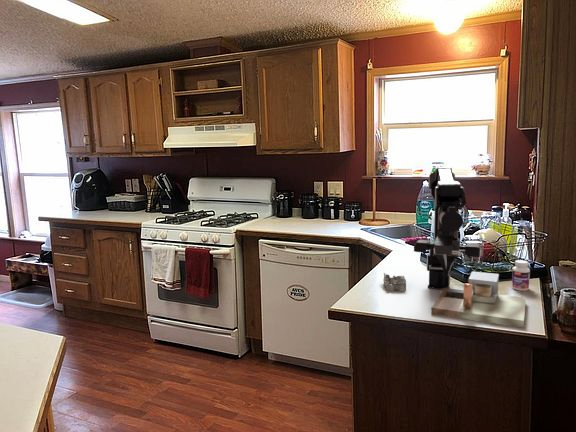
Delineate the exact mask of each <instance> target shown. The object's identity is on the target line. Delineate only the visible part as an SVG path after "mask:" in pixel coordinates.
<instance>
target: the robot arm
mask: <svg viewBox="0 0 576 432" xmlns="http://www.w3.org/2000/svg"><path fill="white" fill-rule="evenodd" d="M428 190H429V191H430V192H429V193H430V195H431V197H432V199H433V200H434V218H433V219H434V221H433V223H434V225H433V228H434V229H433V243H432V241H431V240H428V239H418V240H417V241H416V242H415V243H414V244H413V252H414V253H415V252H416V253H425V252H426V251H427V250H428V251H429V252H428V253H427V255H426V271H427V272H428V284H427V288H429V289H436V290H443V288H449V287H450V286H451V273H452V272H453V271H454V265H455V264H454V263H455V259H458V258H460V257H461V255H462V253H464V254H465V256H467V257H470V258H480V257H481V255H482V253H483V252H482V249H483V247H482V245H481V244H480V243H472V242H471V243H469V242H467V244H466V245H461V238H460V237H458V236H459V230H460V229H461V228H462V226H463V224H464V218H463V216H462V215H461V213H460V210H459V209H462V208H463V209H464V208H465V205H466V204H467V199H466V191H465V188H464V187H463V186H462V184H461V183H460V182H459V181H457V180H456V174H455V173H454V172H453V168H452V167H450V166H437V167H436V168H435V170H434V171H432V172H431V173H430V174H429V177H428Z"/></svg>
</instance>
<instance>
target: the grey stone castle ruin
mask: <svg viewBox="0 0 576 432" xmlns="http://www.w3.org/2000/svg"><path fill="white" fill-rule="evenodd" d="M383 285H384V287H386V290H387V291H390V292H394V291H400V292H403V291H406V290H407V278H405V275H397V276H396V275H393V276H392V277H391V276H390V274H386V272H383Z"/></svg>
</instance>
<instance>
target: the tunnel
mask: <svg viewBox="0 0 576 432" xmlns="http://www.w3.org/2000/svg"><path fill="white" fill-rule="evenodd" d="M499 277H500V274H499V273H491V272H490V273H489V272H484V271H483V272H481V271H471V272H470V276H469V277H468V283H470V284H472V289H475V285H476V283H477V284H486V285H492V290H491V296H492V294H493V291H497V296H496V297H498V294H499V282H500V281H499Z"/></svg>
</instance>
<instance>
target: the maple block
mask: <svg viewBox="0 0 576 432" xmlns="http://www.w3.org/2000/svg"><path fill="white" fill-rule="evenodd" d="M491 290H492V285H486V284H477V283H476V285H475V295H477V296H485V297H491Z"/></svg>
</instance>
